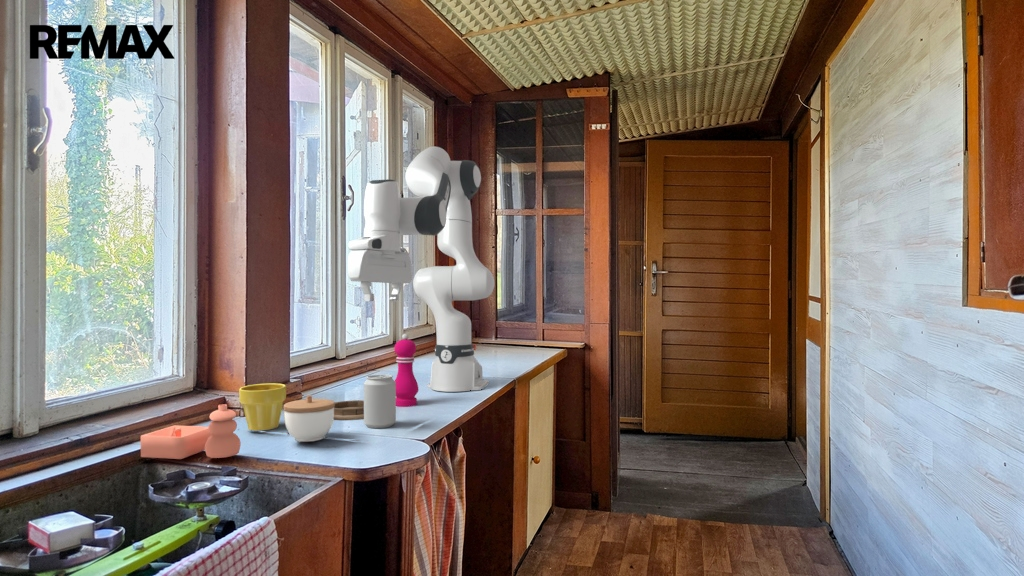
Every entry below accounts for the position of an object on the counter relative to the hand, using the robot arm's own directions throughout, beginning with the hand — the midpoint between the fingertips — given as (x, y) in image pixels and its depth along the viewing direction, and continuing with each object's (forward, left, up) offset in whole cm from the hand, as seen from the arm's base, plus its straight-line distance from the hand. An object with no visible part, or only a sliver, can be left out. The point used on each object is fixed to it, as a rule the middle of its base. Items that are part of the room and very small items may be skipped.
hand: (382, 301), depth 154 cm
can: (+2, +1, -30) cm, 30 cm away
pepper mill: (-23, -6, -30) cm, 38 cm away
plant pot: (+13, -24, -30) cm, 41 cm away
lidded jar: (+18, -7, -30) cm, 36 cm away
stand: (-7, -13, -30) cm, 33 cm away
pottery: (+35, -22, -30) cm, 51 cm away
